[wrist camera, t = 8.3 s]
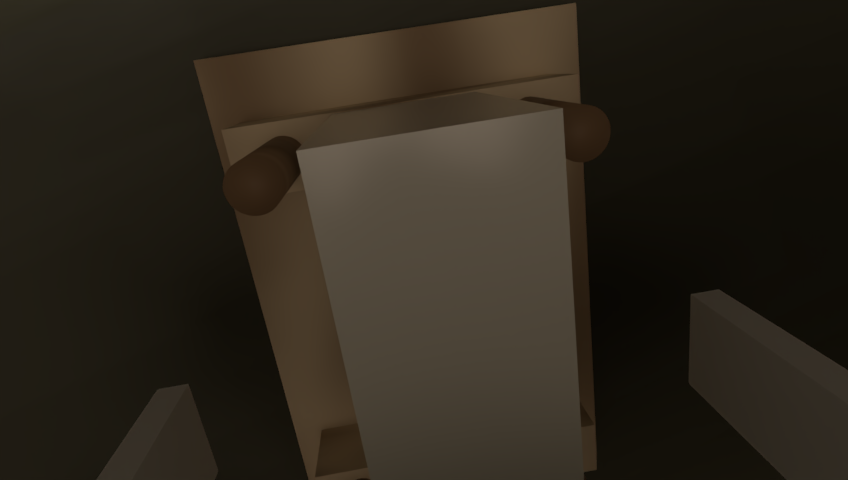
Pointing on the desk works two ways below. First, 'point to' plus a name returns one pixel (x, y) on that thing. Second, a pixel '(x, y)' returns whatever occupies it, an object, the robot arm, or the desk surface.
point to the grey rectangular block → (451, 285)
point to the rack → (287, 203)
